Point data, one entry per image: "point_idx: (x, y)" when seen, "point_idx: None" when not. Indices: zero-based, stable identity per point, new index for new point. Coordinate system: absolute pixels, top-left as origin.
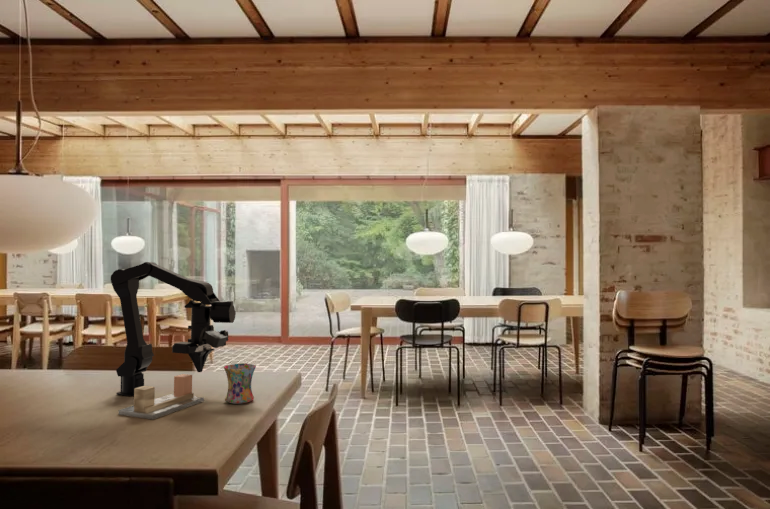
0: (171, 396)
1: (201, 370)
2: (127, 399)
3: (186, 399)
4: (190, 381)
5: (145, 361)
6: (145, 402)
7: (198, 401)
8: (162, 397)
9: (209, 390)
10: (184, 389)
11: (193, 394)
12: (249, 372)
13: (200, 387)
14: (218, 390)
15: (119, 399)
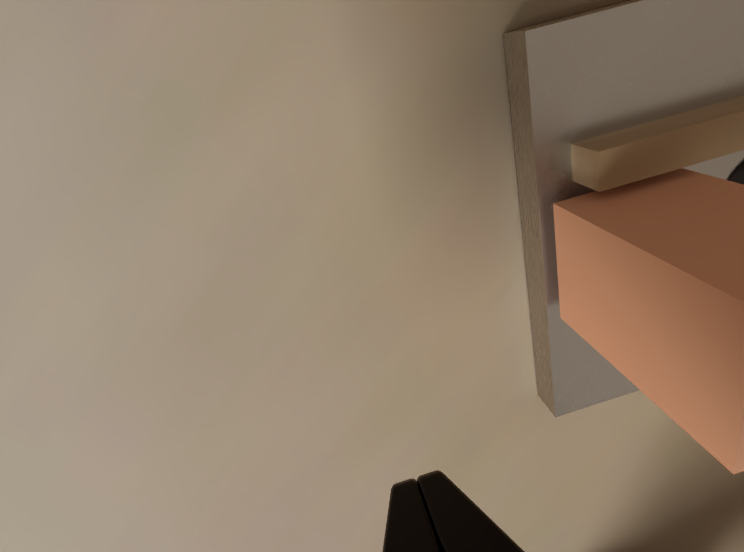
0: None
1: (419, 494)
2: (692, 523)
3: (676, 115)
4: (705, 252)
5: None
6: None
7: (597, 10)
8: None
9: (160, 395)
10: (742, 191)
11: (589, 149)
12: None
13: (162, 532)
14: (81, 334)
15: (707, 546)
